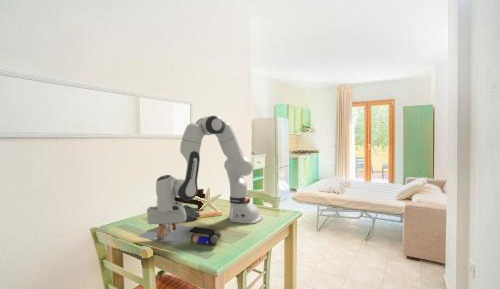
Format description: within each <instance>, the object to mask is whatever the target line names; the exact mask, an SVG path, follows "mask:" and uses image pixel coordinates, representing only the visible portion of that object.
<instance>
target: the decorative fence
mask: <svg viewBox="0 0 500 289" xmlns="http://www.w3.org/2000/svg"><path fill="white" fill-rule="evenodd" d="M204 191H205V190H204V188H198V192H197V195H196V196H198V197H200V198H203V199H206V193H204ZM174 201H177V202H181V203H183V204H185V205H194V206H197V211H200V210H199V209H200V208H201V207H202V205H203V203H202V202H201V201H198V199H195V198H193V199H192V200H189V201H185V200H183V199H181V198H180V197H178V196H177V197H175V198H174Z"/></svg>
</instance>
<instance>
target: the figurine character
mask: <svg viewBox="0 0 500 289" xmlns="http://www.w3.org/2000/svg"><path fill="white" fill-rule="evenodd" d="M189 232H192V233H193V234H192V235H191V238H189V239H190V242H192V243H193V244H197V243H201V244H206V245H207V244H208V245H209V246H215V244H217V243H218V242H219V240H220V238H221V237H222V233H221V232H220V231H215V228H207V227H199V226H194V227H193V228H192V229H191V230H190V231H189ZM200 234H201V235H200ZM203 235H204V236H203ZM205 235H206V236H205Z"/></svg>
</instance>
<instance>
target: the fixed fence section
mask: <svg viewBox="0 0 500 289" xmlns="http://www.w3.org/2000/svg"><path fill="white" fill-rule="evenodd" d="M176 224H177V223H171V225H173V229H172V230H176ZM159 226H162V224H158V227H159ZM168 226H169V225H168Z"/></svg>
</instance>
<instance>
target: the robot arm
mask: <svg viewBox="0 0 500 289" xmlns="http://www.w3.org/2000/svg"><path fill="white" fill-rule="evenodd" d="M235 134H236V133H235V130H234V129H233V128H232V126H231V125H230V122H228V121H223V119H222V118H220V117H219V116H218V115H209V116H207V115H206V116H204V117H201V118H199V119H198V120H197V121H195V122H193V123H189V124H187V125H186V127H185V130H184V132H183V134H182V137H181V142H180V147H179V152H180V155H181V156H183V158H184V159H185V161H186V163H187V164H186V170H185V177H184V179H183V178H179V177H174V176H172V175H171V174H165V175H161V176H160V177H158V178H157V179H156V181H155V192H156V194H155V195H156V197H157V198H156V206H149V207H148V208H146V214H147V217H146V218H147V220H146V221H147V224H148V225H159V224H164V226H165V228H166V231H170V225H171V223H176V224H182V223H185V222H187V220H186V212H185V209H184V208H183V206H184V204H185V203H181V202H177V201H174V198H175V197H180V198H181V199H183V200H185V201H189V200H192V199H195V196H196V195H197V192H198V189H199V188H198V174H199V168H200V153H201V147H202V141H203V138H204V137H205V136H211V135H215V136H216V138H217V141H218V143H219V146H220V148H221V151H222V153H223V155H224V156H225V157H226V158H227V159H226V160H225V162H224V164H223V165H224V166H223V167H224V169H225V171H226V173H227V177H228V182H229V189H230V190H229V191H230V192H229V193H230V194H229V206H230V207H229V214H228V220H230V222H232V223H241V224H242V223H243V224H257V223H259V222H261V221H262V220H263V219H264V216H263V215H262V214H260V209H259V208H258V206H256V205H255V204H254V203H253V202H251V199H252V196H250V197H249V195H248V183H247V181H246V180H245V177H247V176H248V177H249V176H250V175H251V174H252V173H253V171H254V165H253V163H252V161H250V160H249V159H248V158H247V155H246V154H245V153H244V151H243V149H242V148H241V146H240V144H239V142H238V139H237V136H236V135H235ZM167 225H169V226H167Z"/></svg>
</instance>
